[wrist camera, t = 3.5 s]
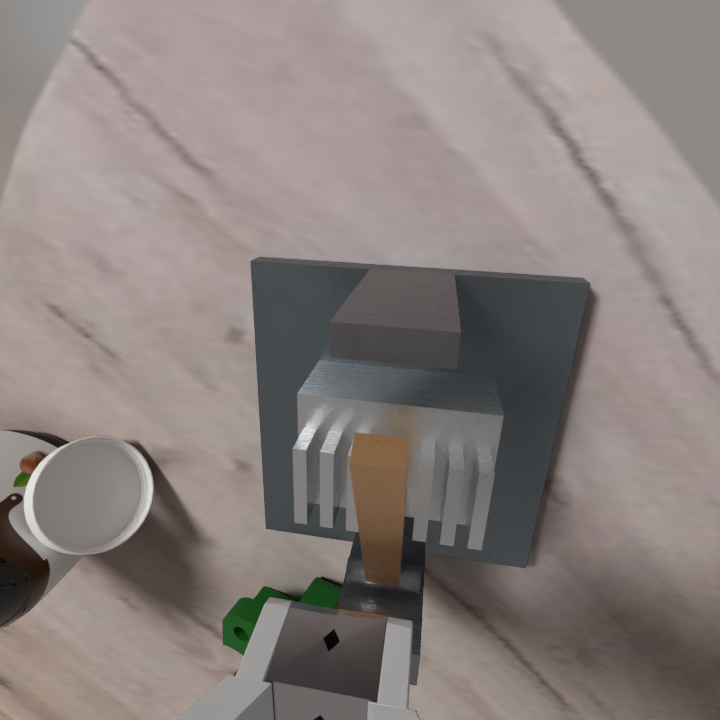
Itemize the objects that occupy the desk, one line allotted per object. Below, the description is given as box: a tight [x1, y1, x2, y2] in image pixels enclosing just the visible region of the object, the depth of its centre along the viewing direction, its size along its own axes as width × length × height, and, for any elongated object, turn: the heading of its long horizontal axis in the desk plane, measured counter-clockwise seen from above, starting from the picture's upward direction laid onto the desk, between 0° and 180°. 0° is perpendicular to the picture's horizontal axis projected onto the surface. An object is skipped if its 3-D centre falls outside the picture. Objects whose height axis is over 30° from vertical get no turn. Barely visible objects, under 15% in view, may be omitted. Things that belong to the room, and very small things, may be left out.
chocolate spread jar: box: [0, 430, 154, 628], centre depth 27 cm, size 12×11×12 cm
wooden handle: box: [345, 432, 422, 594], centre depth 18 cm, size 4×13×1 cm, turn 178°
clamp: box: [223, 577, 342, 676], centre depth 32 cm, size 12×6×9 cm, turn 169°
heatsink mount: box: [251, 257, 590, 685], centre depth 22 cm, size 16×17×10 cm
